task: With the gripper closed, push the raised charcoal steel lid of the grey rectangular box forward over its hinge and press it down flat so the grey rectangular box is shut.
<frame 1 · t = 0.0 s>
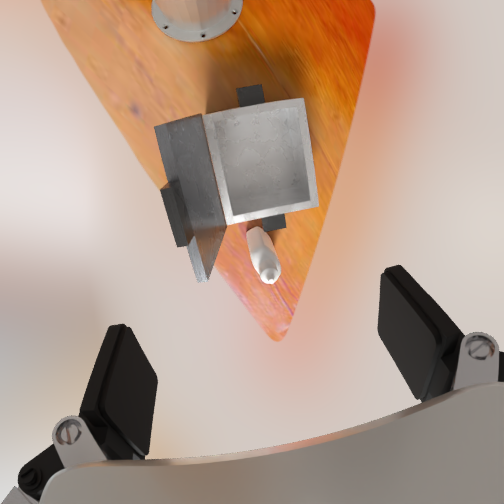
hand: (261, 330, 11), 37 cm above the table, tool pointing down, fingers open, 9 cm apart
lid: (196, 190, 31), point 15 cm above the table, hinge at 100.0°
eye dropper bottle: (259, 240, 50), on the table
grey rectangular box: (256, 152, 44), on the table
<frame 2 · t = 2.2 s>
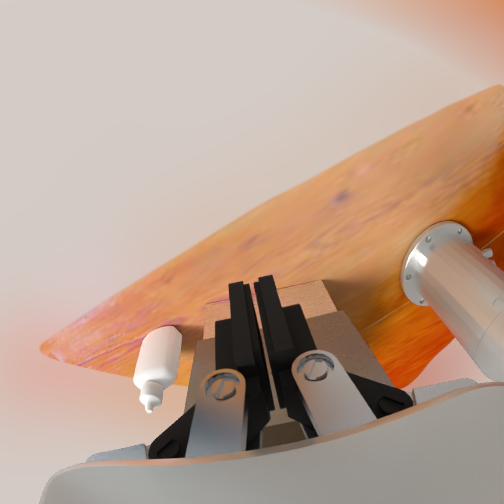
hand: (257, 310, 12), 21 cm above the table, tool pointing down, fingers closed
lid: (281, 377, 23), point 15 cm above the table, hinge at 100.0°
eye dropper bottle: (162, 336, 39), on the table
grey rectangular box: (271, 330, 40), on the table
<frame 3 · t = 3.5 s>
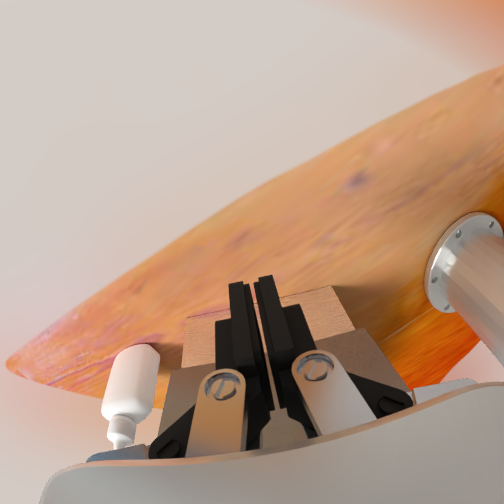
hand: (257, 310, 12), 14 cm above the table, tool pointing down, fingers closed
lid: (284, 430, 15), point 15 cm above the table, hinge at 100.0°
eye dropper bottle: (137, 355, 31), on the table
grey rectangular box: (269, 347, 32), on the table
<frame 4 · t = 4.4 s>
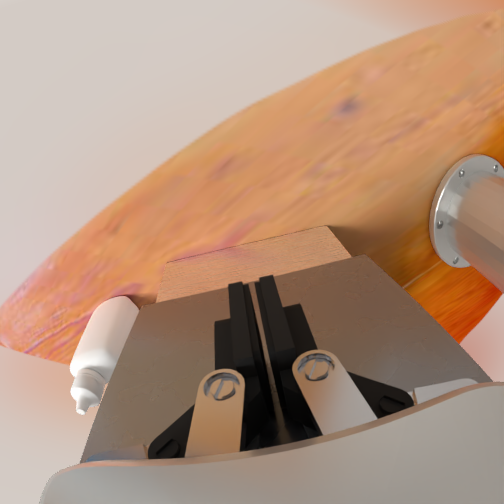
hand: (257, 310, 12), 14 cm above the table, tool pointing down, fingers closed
lid: (269, 365, 12), point 15 cm above the table, hinge at 96.6°, touching gripper
eye dropper bottle: (115, 312, 28), on the table
grey rectangular box: (259, 300, 29), on the table
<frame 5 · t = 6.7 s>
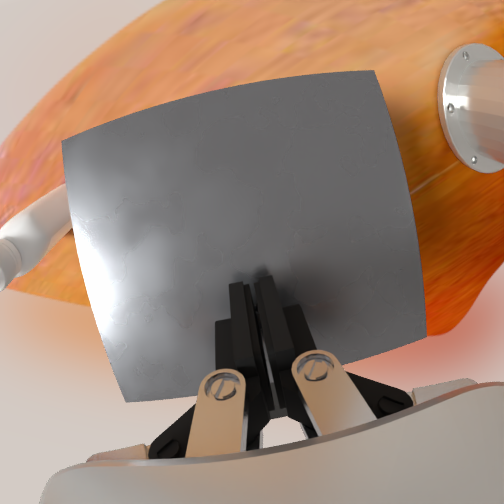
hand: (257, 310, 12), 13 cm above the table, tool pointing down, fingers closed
lid: (251, 261, 13), point 11 cm above the table, hinge at 22.1°, touching gripper
eye dropper bottle: (64, 207, 22), on the table
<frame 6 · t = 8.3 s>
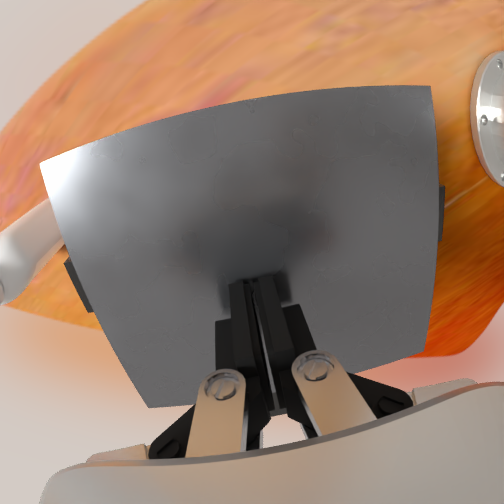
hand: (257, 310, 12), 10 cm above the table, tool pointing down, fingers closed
lid: (271, 294, 12), point 9 cm above the table, hinge at 3.6°, touching gripper
eye dropper bottle: (55, 220, 20), on the table
grey rectangular box: (249, 201, 20), on the table
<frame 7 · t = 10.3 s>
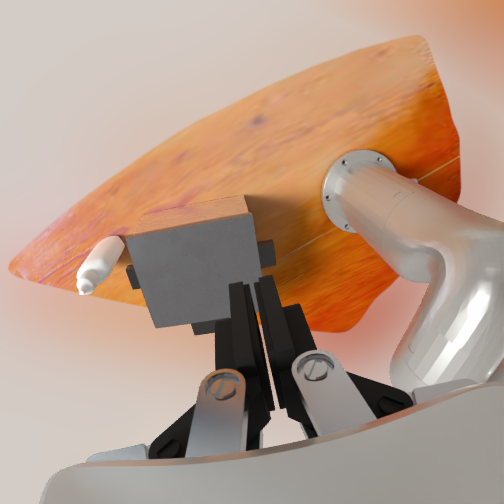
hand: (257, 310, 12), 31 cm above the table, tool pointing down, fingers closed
lid: (200, 282, 37), point 9 cm above the table, hinge at 3.3°
eye dropper bottle: (109, 247, 44), on the table
grey rectangular box: (201, 243, 45), on the table
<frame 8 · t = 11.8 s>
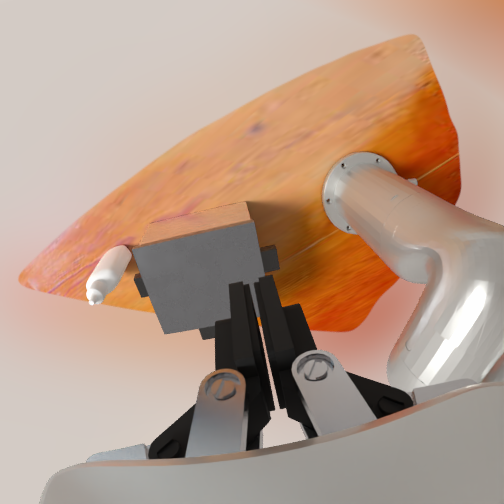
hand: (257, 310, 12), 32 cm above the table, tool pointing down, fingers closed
lid: (206, 288, 38), point 9 cm above the table, hinge at 3.3°
eye dropper bottle: (116, 257, 45), on the table
grey rectangular box: (206, 249, 46), on the table
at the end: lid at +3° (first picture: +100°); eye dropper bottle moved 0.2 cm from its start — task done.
